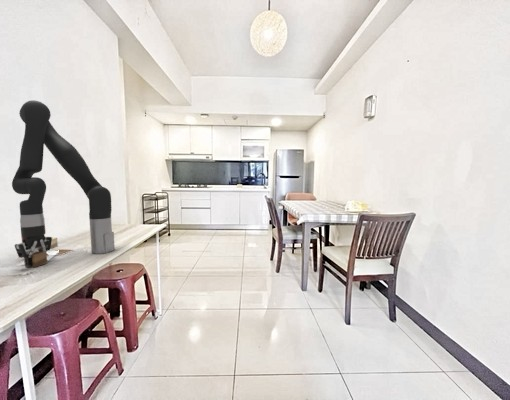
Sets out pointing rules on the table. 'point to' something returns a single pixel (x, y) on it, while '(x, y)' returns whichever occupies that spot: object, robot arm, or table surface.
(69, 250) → the tile
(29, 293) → the table surface
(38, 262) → the walnut cube
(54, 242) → the maple cube
